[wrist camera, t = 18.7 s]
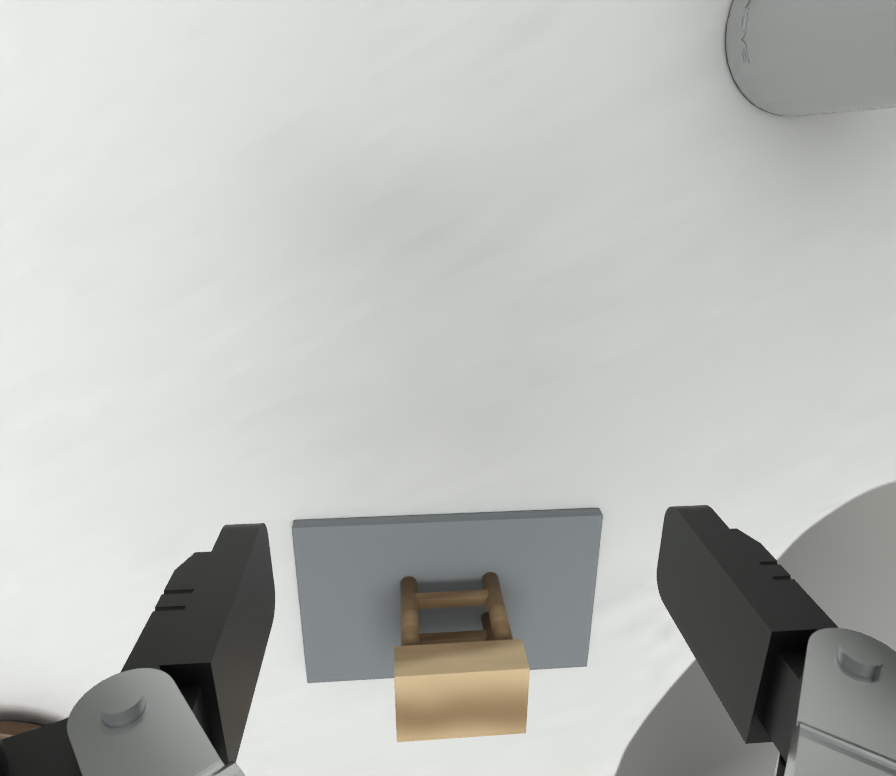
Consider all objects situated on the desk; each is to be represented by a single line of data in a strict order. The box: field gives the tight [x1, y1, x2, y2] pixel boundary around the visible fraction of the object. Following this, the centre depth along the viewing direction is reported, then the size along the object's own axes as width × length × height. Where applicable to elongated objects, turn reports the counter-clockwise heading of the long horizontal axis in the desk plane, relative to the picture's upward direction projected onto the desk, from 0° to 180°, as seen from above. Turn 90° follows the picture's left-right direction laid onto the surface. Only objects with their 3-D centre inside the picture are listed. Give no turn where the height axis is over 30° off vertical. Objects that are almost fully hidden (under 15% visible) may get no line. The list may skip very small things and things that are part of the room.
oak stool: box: [394, 572, 530, 742], centre depth 42 cm, size 5×8×9 cm, turn 90°
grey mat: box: [292, 508, 603, 683], centre depth 47 cm, size 22×14×1 cm, turn 90°
